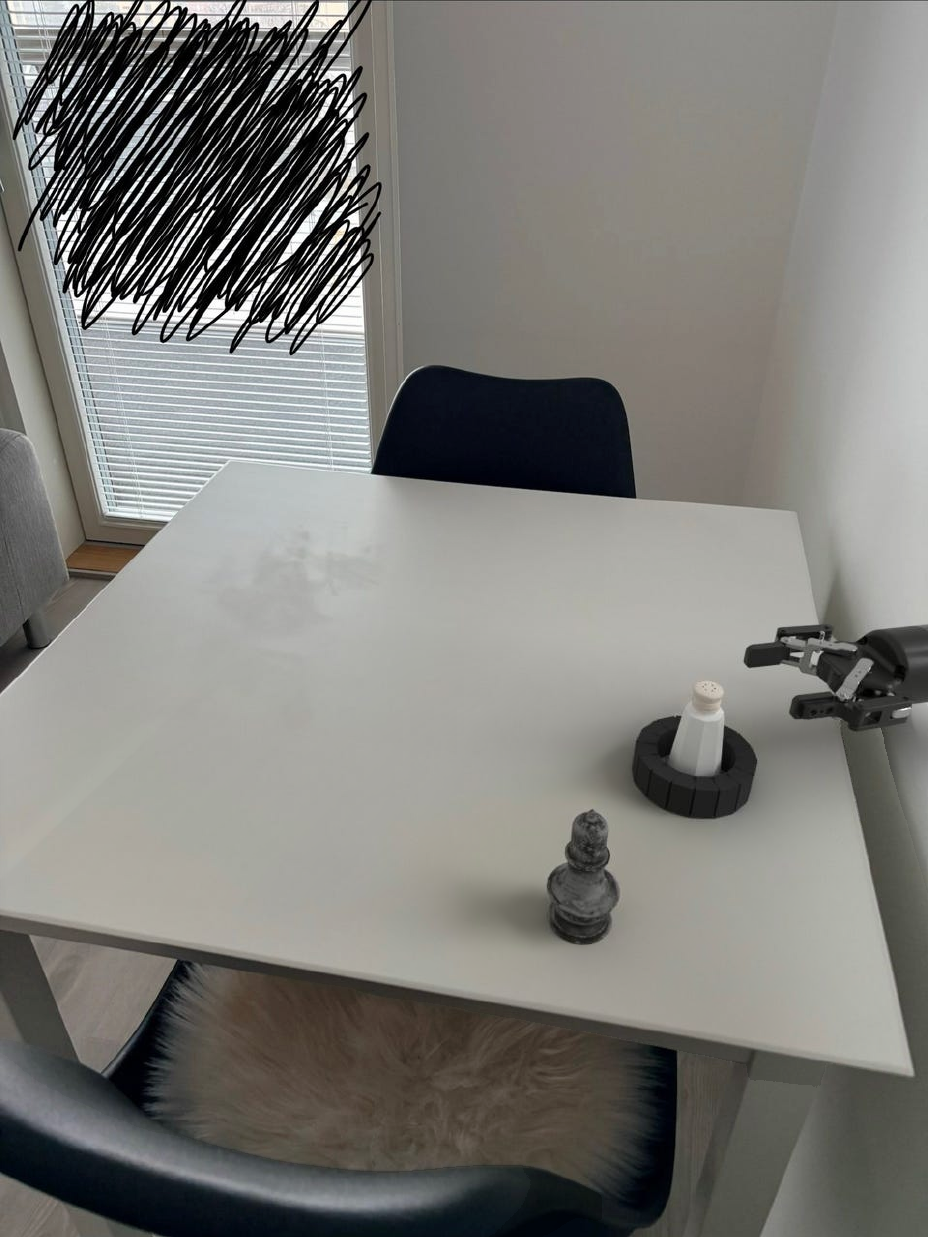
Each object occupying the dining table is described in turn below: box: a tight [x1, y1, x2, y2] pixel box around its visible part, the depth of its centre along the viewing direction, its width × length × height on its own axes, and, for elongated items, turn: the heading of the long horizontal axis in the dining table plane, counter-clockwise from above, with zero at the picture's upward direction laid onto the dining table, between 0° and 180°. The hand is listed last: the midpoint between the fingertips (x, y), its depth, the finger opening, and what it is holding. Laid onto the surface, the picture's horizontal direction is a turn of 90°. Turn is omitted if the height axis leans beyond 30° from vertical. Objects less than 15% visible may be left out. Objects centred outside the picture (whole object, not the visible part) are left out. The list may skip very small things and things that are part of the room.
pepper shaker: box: [666, 680, 725, 777], centre depth 85 cm, size 5×5×11 cm
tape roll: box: [631, 715, 758, 820], centre depth 87 cm, size 12×12×4 cm
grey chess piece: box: [546, 808, 621, 945], centre depth 69 cm, size 6×6×12 cm
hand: (768, 681), depth 82 cm, fingers open, 8 cm apart
